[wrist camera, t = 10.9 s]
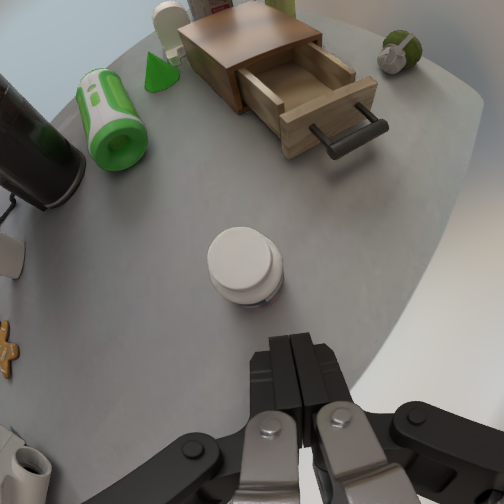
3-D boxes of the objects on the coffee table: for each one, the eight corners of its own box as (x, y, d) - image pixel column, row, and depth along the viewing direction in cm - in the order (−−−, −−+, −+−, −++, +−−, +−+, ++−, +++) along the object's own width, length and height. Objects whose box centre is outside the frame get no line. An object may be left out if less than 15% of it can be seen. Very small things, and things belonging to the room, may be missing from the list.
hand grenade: (434, 40, 25) (408, 72, 26) (420, 60, 31) (393, 92, 32) (401, 16, 25) (370, 44, 27) (390, 38, 31) (361, 67, 33)
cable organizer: (171, 68, 36) (149, 20, 27) (164, 44, 39) (146, 3, 30) (203, 55, 36) (186, 6, 27) (191, 33, 39) (176, -9, 29)
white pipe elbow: (-3, 468, 20) (1, 411, 23) (68, 508, 23) (82, 459, 27) (-25, 506, 8) (-33, 449, 11) (60, 554, 12) (70, 513, 15)
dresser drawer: (393, 142, 27) (408, 108, 21) (313, 190, 27) (318, 156, 21) (298, 60, 32) (296, 27, 27) (225, 91, 32) (215, 57, 26)
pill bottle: (216, 292, 26) (180, 273, 18) (243, 243, 27) (222, 203, 18) (266, 320, 25) (254, 315, 16) (294, 269, 26) (296, 238, 17)
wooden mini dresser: (320, 78, 32) (322, 33, 25) (238, 115, 31) (226, 68, 24) (261, 36, 36) (255, -1, 29) (191, 66, 36) (176, 29, 28)
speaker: (89, 113, 36) (66, 85, 29) (126, 87, 37) (106, 56, 29) (112, 184, 31) (77, 152, 24) (161, 150, 31) (134, 110, 24)
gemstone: (141, 79, 37) (127, 53, 31) (175, 63, 37) (164, 35, 31) (147, 98, 35) (131, 70, 29) (185, 80, 35) (172, 50, 29)
